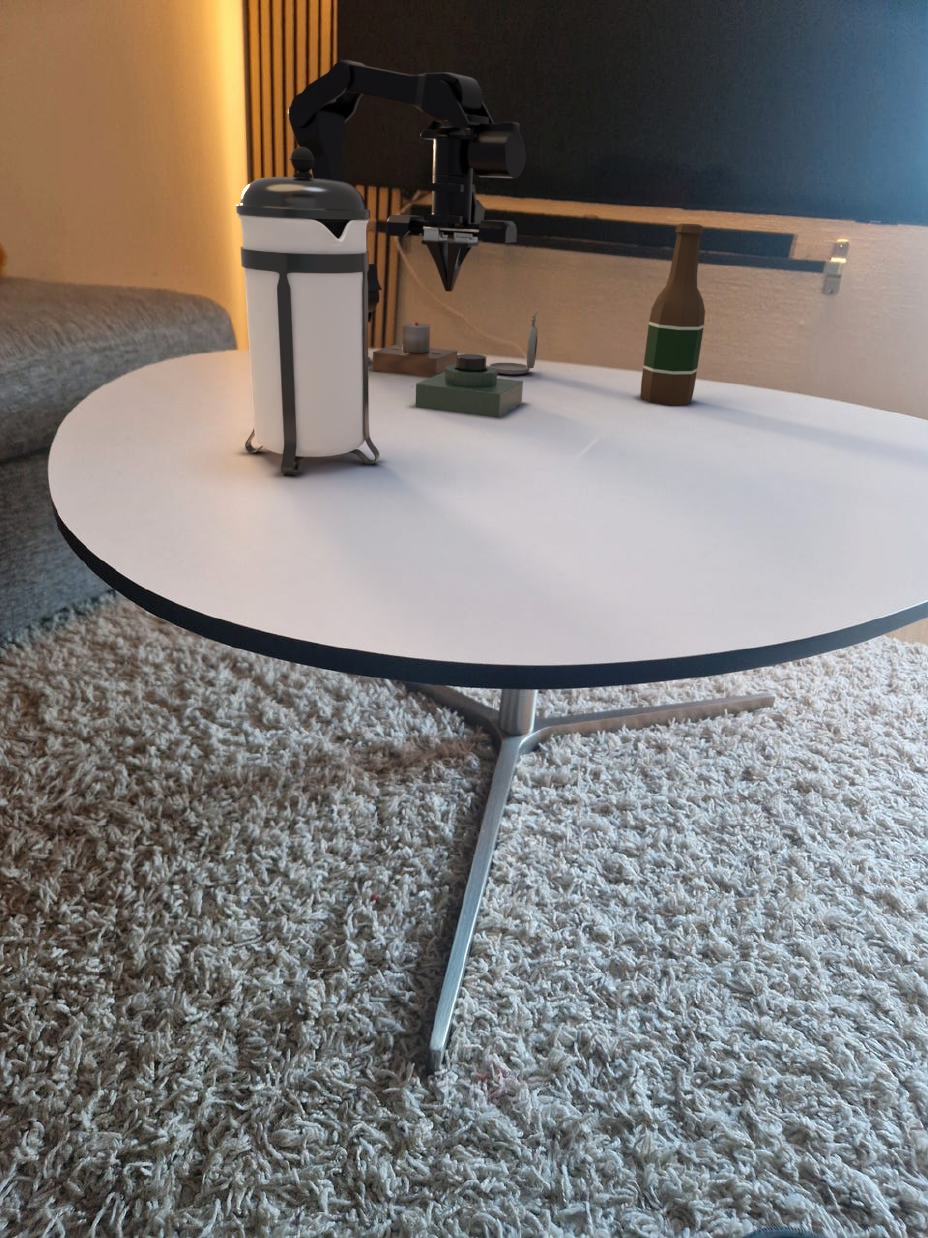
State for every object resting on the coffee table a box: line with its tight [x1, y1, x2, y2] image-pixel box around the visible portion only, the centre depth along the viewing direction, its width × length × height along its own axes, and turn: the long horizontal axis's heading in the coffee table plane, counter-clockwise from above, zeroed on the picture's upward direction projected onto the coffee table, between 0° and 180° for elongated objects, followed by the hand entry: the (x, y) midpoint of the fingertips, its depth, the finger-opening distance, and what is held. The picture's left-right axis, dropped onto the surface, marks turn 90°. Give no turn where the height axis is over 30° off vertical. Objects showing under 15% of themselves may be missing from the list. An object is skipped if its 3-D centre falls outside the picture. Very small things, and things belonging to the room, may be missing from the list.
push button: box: [456, 353, 487, 372], centre depth 122 cm, size 4×4×2 cm
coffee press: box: [235, 146, 381, 476], centre depth 92 cm, size 17×16×30 cm
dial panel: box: [372, 343, 458, 378], centre depth 146 cm, size 11×9×3 cm
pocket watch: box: [488, 310, 538, 376], centre depth 145 cm, size 8×8×10 cm
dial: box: [401, 320, 431, 353], centre depth 144 cm, size 4×4×4 cm
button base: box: [415, 365, 524, 419], centre depth 123 cm, size 12×10×5 cm
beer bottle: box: [639, 222, 706, 406], centre depth 128 cm, size 8×8×24 cm
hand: (449, 291), depth 135 cm, fingers closed
